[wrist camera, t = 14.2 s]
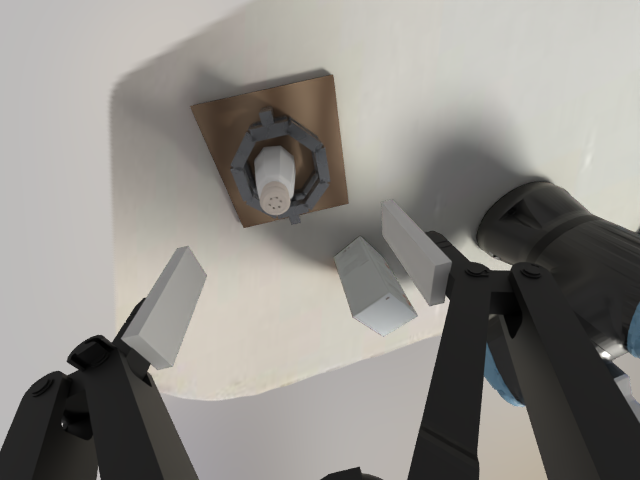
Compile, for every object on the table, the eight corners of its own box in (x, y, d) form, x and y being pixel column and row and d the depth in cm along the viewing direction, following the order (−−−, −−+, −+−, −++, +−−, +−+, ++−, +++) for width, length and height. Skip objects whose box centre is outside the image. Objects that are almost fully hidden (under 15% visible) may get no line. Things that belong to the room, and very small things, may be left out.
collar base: (331, 74, 27) (333, 74, 26) (346, 200, 36) (348, 203, 35) (192, 105, 26) (189, 106, 25) (244, 224, 36) (243, 227, 35)
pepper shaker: (258, 138, 28) (249, 165, 19) (301, 151, 30) (312, 183, 21) (250, 180, 31) (239, 221, 22) (290, 190, 33) (295, 233, 24)
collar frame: (311, 96, 27) (317, 100, 23) (328, 198, 34) (335, 214, 30) (221, 116, 26) (211, 123, 22) (258, 214, 34) (256, 232, 30)
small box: (332, 257, 42) (351, 317, 31) (360, 234, 40) (390, 291, 29) (359, 278, 46) (383, 338, 35) (385, 258, 44) (419, 316, 33)
